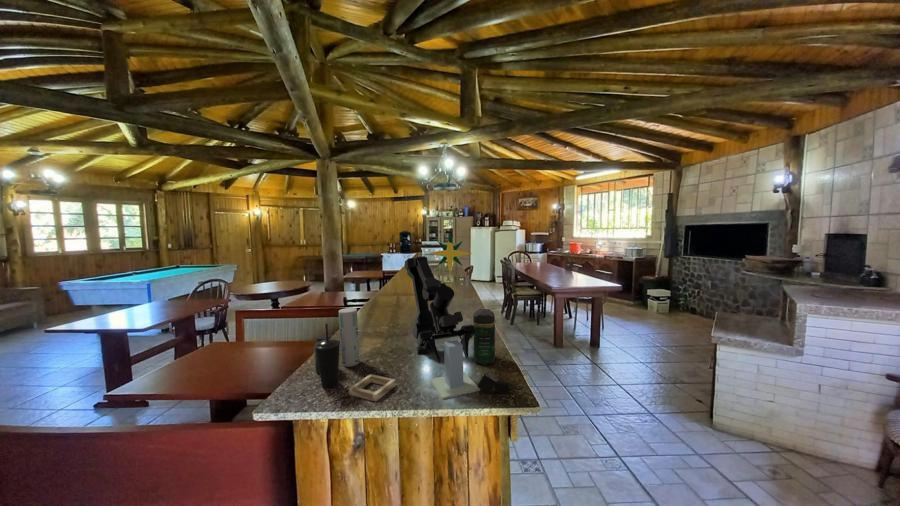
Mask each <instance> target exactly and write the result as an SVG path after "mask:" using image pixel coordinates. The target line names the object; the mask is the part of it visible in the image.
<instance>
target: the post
mask: <svg viewBox="0 0 900 506" xmlns="http://www.w3.org/2000/svg"><path fill="white" fill-rule="evenodd" d="M443 346H444V347H443V353H444V376H445V383H446V384H447V385H448V386H449V388H450V389H451V388H455V387H460V386H464V385H463V372H464V352H463V345H462V344H461V343H460V341H459V340H458V339H456V340H451V341H444V342H443Z"/></svg>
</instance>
